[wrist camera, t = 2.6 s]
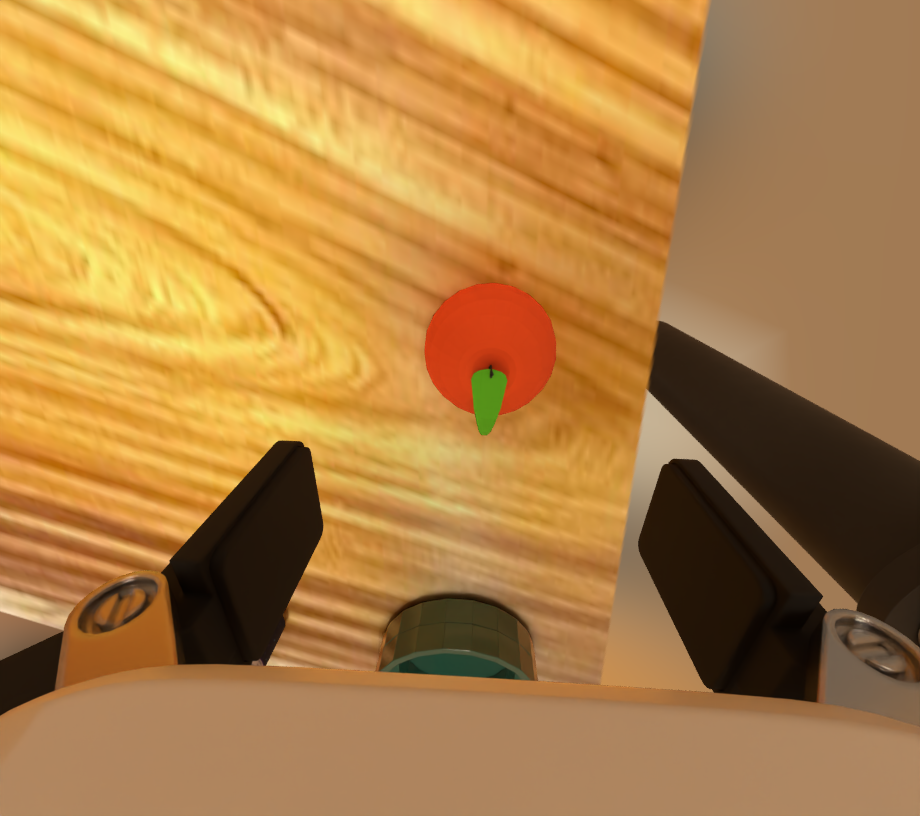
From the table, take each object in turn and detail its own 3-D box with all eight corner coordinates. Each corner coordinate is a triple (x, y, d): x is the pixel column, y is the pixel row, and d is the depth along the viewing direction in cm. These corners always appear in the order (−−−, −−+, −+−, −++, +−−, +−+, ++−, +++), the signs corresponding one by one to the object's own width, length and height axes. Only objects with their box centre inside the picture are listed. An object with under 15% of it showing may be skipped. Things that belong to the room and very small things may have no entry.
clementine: (536, 403, 25) (554, 464, 19) (431, 397, 25) (415, 456, 19) (553, 276, 22) (583, 299, 15) (432, 271, 22) (412, 291, 16)
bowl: (541, 598, 33) (550, 656, 29) (524, 690, 40) (529, 749, 35) (381, 587, 34) (365, 643, 29) (389, 680, 40) (377, 737, 36)
